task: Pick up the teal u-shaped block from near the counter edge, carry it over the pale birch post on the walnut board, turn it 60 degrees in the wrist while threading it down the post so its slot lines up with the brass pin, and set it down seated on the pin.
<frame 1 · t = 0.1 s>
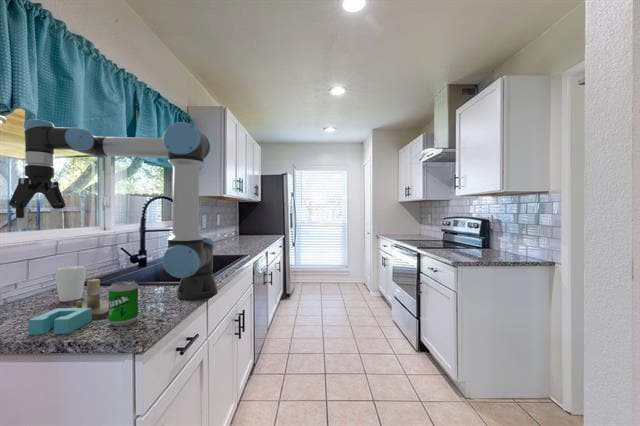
hand: (39, 227, 106), 28 cm above the countertop, fingers open, 13 cm apart
cup: (70, 299, 117), on the countertop
post fixture: (93, 311, 103), on the countertop
teal u-shaped block: (62, 327, 89), on the countertop
soda can: (123, 323, 93), on the countertop
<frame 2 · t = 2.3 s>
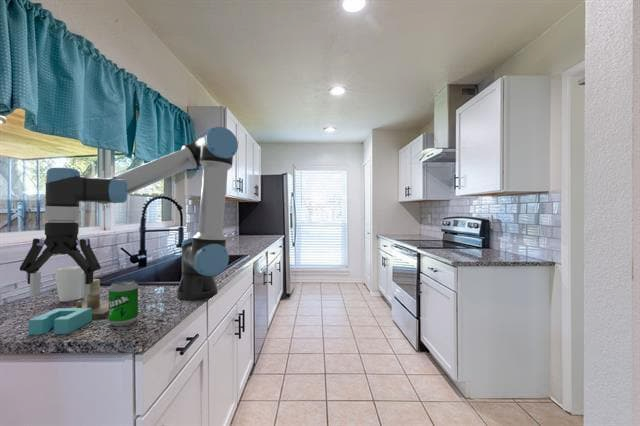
hand: (60, 295, 89), 9 cm above the countertop, fingers open, 13 cm apart
nothing on the countertop moved.
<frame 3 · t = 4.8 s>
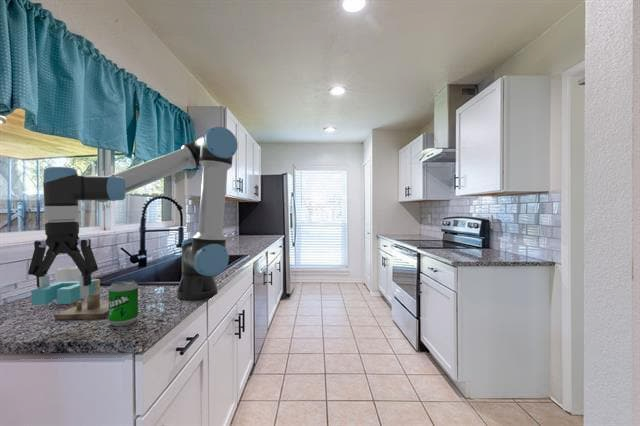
hand: (64, 297, 89), 8 cm above the countertop, fingers closed on teal u-shaped block, 10 cm apart
teal u-shaped block: (65, 298, 89), point 8 cm above the countertop, touching gripper
everything else where it was.
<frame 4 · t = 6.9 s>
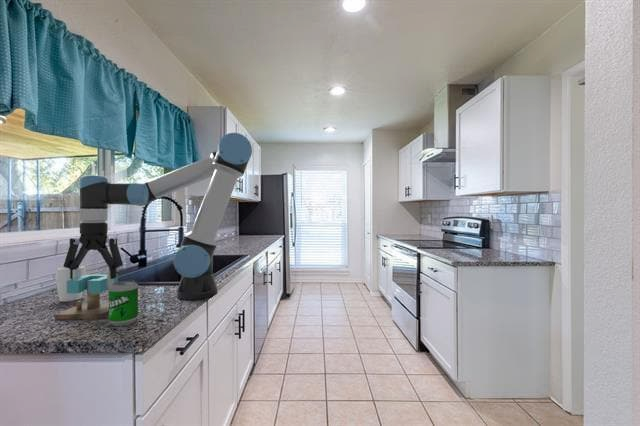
hand: (93, 288, 103), 8 cm above the countertop, fingers closed on teal u-shaped block, 10 cm apart
teal u-shaped block: (93, 289, 103), point 7 cm above the countertop, touching gripper
everything else where it was.
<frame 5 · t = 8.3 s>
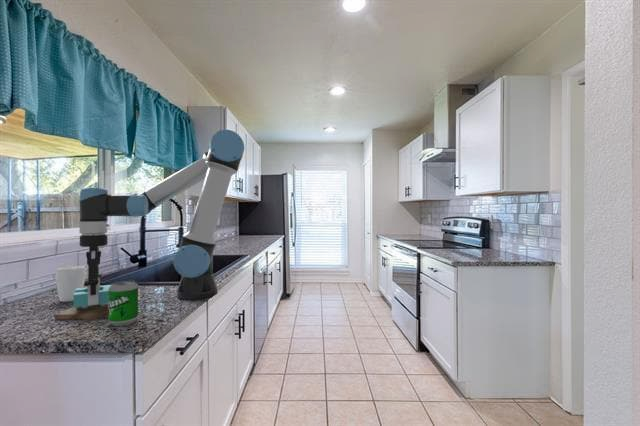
hand: (93, 300, 103), 4 cm above the countertop, fingers closed on teal u-shaped block, 10 cm apart
teal u-shaped block: (93, 301, 103), point 3 cm above the countertop, touching gripper
everything else where it was.
when the fingers open (2 cm above the countertop, at t = 9.4 s): teal u-shaped block stays where it is, resting on post fixture.
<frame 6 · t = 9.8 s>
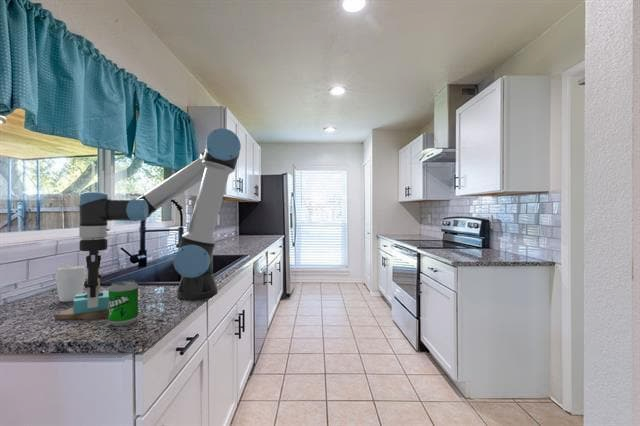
hand: (93, 302, 103), 3 cm above the countertop, fingers open, 13 cm apart
teal u-shaped block: (93, 307, 103), point 1 cm above the countertop, touching post fixture
everything else where it was.
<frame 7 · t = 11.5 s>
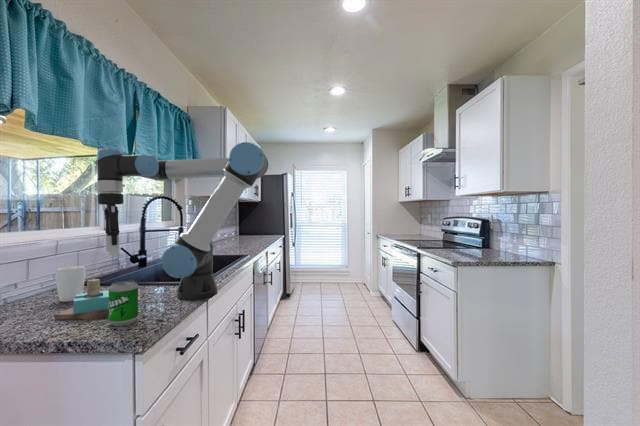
hand: (112, 253, 109), 19 cm above the countertop, fingers open, 13 cm apart
nothing on the countertop moved.
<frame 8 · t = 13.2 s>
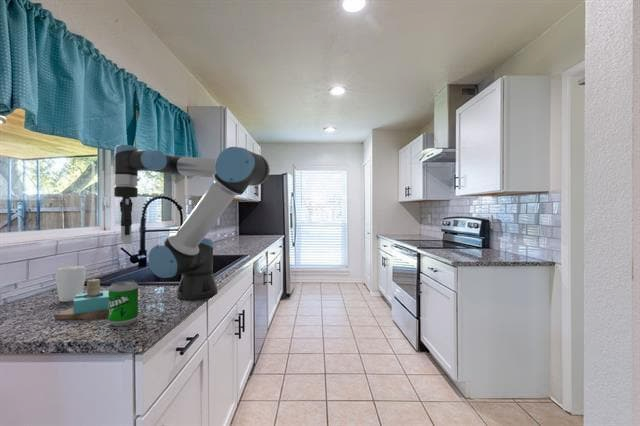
hand: (125, 242, 117), 22 cm above the countertop, fingers open, 13 cm apart
nothing on the countertop moved.
at the end: teal u-shaped block 0.1 cm off-centre on the post fixture, point 1.5 cm above the post fixture's base; teal u-shaped block tilted 0°; the gripper is holding nothing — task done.
